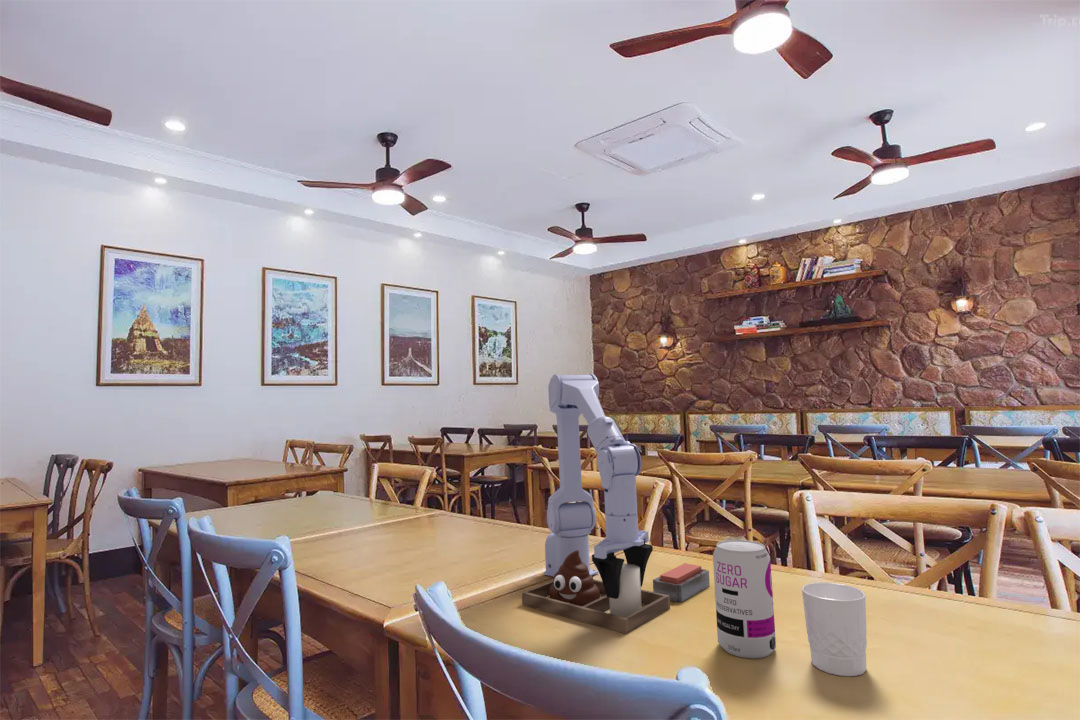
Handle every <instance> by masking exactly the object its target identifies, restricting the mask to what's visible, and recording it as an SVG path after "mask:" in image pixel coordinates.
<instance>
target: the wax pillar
mask: <svg viewBox="0 0 1080 720" xmlns="http://www.w3.org/2000/svg"><path fill="white" fill-rule="evenodd" d="M641 590H642V587H641V582H640V567H639V566H637V565H633V564H627V563H623V566H622V569H621V574H620V591H619V597H618V598H617V599H614V598H609V604H610V609H609V614H612V615H616V616H620V617H626V616H628V615H630V614H632V613H634V612H635V611H637V610H639V609H641V608H643V607H642V604H643V603H641Z"/></svg>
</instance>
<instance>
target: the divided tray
mask: <svg viewBox="0 0 1080 720" xmlns="http://www.w3.org/2000/svg"><path fill="white" fill-rule="evenodd" d="M593 580H594V584H595V585H596V586H597V587H598V588H599V591H600V595H603V596H600V598H599V599H597V600H595V601H593V602H590V603H588V604H586V605H584V606H578V605H574V604H570V603H566V602H562V601H559V600H555V599H551V598H550V597H549V589H550V587H551V585H552V584H553V580H551V581H548V582H545V583H543V584H541V585H538V586H535V587H532V588H530V589H528V590H527V589H526V590H525V591H523V592H521V605H522V606H525V607H526V606H527V607H528V608H533V609H537V610H539V611H540V610H541V611H542V612H543V611H544V612H548V613H550V614H553V615H554V614H555V615H558V616H562V617H565V618H569V619H572V620H575V621H580V622H583V623H587V624H589V625H593V626H597V627H600V628H604V629H607V630H610V631H614V632H617V633H622V634H625V635H627V634H629V633H631V632H632V631H633V630H635V629H637V628H639V627H640V626H642V625H644V624H646V623H647V622H649V621H650V620H653V619H654V618H655V617H657V616H659V615H661V614H663V613H665V612H666V611H668V610H670V609H671V601H670V596H669V595H664V594H660V593H655V592H653V591H650V590H644V589H641V603H642V604H644V606H643V607H642V608H641V609H639V610H637V611H635V612H634V613H632V614H630V615H628V616H626V617H620V616H616V615H612V614H610V612H609V613H608V612H605V611H607V610H610V604H609V597H607V596H606V592H605V589H604V585H603V582H602V580H600V579H594V578H593Z"/></svg>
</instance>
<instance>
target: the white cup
mask: <svg viewBox="0 0 1080 720" xmlns="http://www.w3.org/2000/svg"><path fill="white" fill-rule="evenodd" d="M801 593H802V600H803V601H802V603H803V609H804V610H803V611H804V619H805V628H806V634H807V641H808V643H809V650H810V658H811V664H812V665H813V666H814V667H815V668H817V669H818V670H820V671H822V672H825V673H828V674H830V675H836V676H841V677H857V676H860V675H864V673H865V672H866V671H867V653H866V649H867V608H866V607H867V606H866V605H867V603H866V593H865V592H864V591H863V590H862V589H859V588H857V587H854V586H851V585H848V584H842V583H836V582H812V583H807V584H804V585H803V586H801Z"/></svg>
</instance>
